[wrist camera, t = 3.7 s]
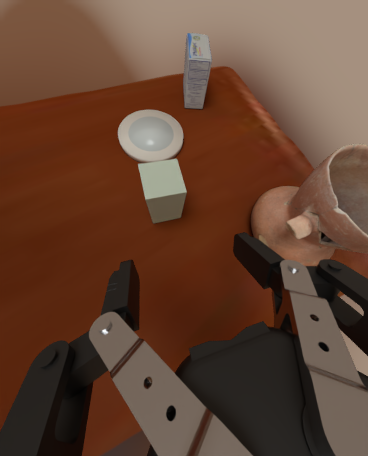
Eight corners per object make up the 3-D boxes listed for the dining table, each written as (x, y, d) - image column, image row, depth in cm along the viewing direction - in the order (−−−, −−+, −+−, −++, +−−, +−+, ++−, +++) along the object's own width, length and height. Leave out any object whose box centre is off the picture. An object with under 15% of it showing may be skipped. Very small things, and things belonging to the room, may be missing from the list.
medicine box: (202, 110, 35) (213, 60, 27) (183, 108, 34) (188, 57, 26) (200, 87, 37) (209, 34, 29) (182, 85, 37) (186, 31, 28)
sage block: (153, 223, 26) (145, 199, 17) (147, 198, 27) (138, 164, 18) (180, 217, 27) (186, 192, 18) (174, 193, 28) (176, 158, 19)
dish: (125, 168, 28) (123, 164, 27) (115, 118, 31) (113, 112, 30) (189, 159, 30) (190, 154, 29) (174, 113, 34) (174, 107, 32)
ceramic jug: (261, 286, 25) (381, 305, 11) (224, 210, 28) (282, 152, 14) (336, 248, 28) (493, 227, 15) (296, 185, 32) (396, 120, 18)
